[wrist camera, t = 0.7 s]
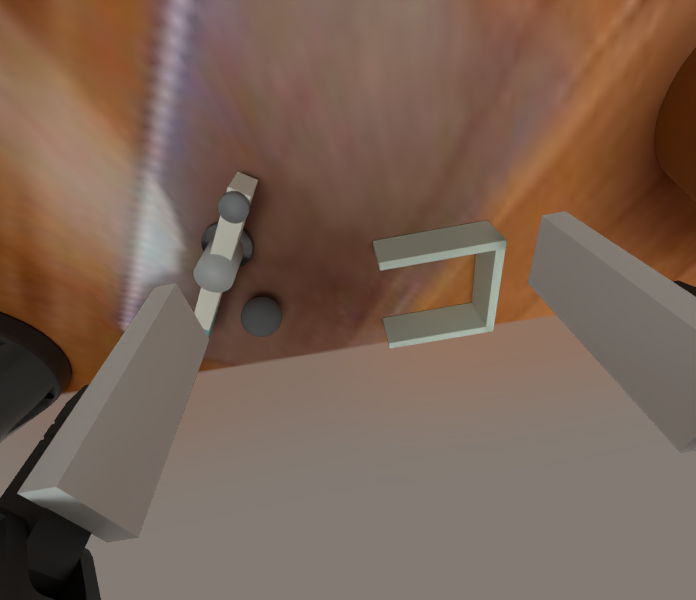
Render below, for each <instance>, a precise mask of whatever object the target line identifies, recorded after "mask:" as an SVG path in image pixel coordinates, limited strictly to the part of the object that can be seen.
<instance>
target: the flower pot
mask: <svg viewBox="0 0 696 600" xmlns="http://www.w3.org/2000/svg"><path fill="white" fill-rule="evenodd" d="M655 151H656V156H657V159H658V162H659V164H660V166H661V168H662V170H663V171H664V172H665V173H666V175H667V176H668V177H669V178H670V179H671V180H672V181H674V182H675V183H676V184H677V185H678V186H679V187H680V188H681V189H682V190H683V191H684V192H685V193H686V194H687V195H688V196H689V197H690V198H691V199H692V200H693V201H694V202H695V203H696V48H695V49H694V51H693V52H692V53H691V55H690V56H689V57H688V59H687V60H686V61H685V63H684V64H683V66H682V67H681V69H680V70H679V72H678V73H677V75H676V77H675V78H674V80H673V82H672V84H671V86H670V87H669V90H668V92H667V94H666V96H665V98H664V101H663V103H662V106H661V109H660V112H659V116H658V119H657V124H656V130H655Z"/></svg>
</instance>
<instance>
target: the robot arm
mask: <svg viewBox="0 0 696 600" xmlns="http://www.w3.org/2000/svg"><path fill="white" fill-rule="evenodd" d="M528 284H529V285H530V286H531V287H532V288H533V290H534V291H535V292H536V293H537V294H538V295H539V296H540V297H541V298H542V300H543V301H544V302H545V303H546V304H547V305H548V306H549V307H550V308H551V310H552V311H553V312H554V313H555V314H556V315H557V316H558V317H559V318H560V320H561V321H562V322H563V323H564V324H565V325H566V326H567V327H568V328H569V329H570V331H571V332H572V333H573V334H574V335H575V336H576V337H577V338H578V340H579V341H580V342H581V343H582V344H583V345H584V346H585V347H586V348H587V350H588V351H589V352H590V353H591V354H592V355H593V356H594V357H595V358H596V359H597V360H598V362H599V363H600V364H601V365H602V366H603V367H604V368H605V370H606V371H607V372H608V373H609V374H610V375H611V376H612V377H613V378H614V380H615V381H616V382H617V383H618V384H619V385H620V386H621V387H622V388H623V390H624V391H625V392H626V393H627V394H628V395H629V396H630V397H631V398H632V400H633V401H634V402H635V403H636V404H637V405H638V406H639V407H640V408H641V410H642V411H643V412H644V413H645V414H646V415H647V416H648V417H649V418H650V420H651V421H652V422H653V423H654V424H655V425H656V426H657V427H658V428H659V430H660V431H661V432H662V433H663V434H664V435H665V436H666V437H667V438H668V440H669V441H670V442H671V443H672V444H673V445H674V446H675V447H676V448H677V450H679V452H680V453H684V452H690V451H696V287H694V286H691V285H689V284H686V283H683V282H681V281H673V282H672V281H671V280H669V279H668V278H666V277H665V276H663V275H662V274H660V273H659V272H657V271H656V270H654V269H653V268H651V267H650V266H648V265H646V264H645V263H643V262H642V261H640V260H639V259H637V258H636V257H634V256H633V255H631V254H630V253H628V252H627V251H625V250H624V249H622V248H621V247H619V246H618V245H616V244H615V243H613V242H611V241H610V240H608V239H607V238H605V237H604V236H602V235H601V234H599V233H598V232H596V231H595V230H593V229H592V228H590V227H589V226H587V225H586V224H584V223H583V222H581V221H579V220H578V219H576V218H575V217H573V216H572V215H570V214H569V213H567V212H566V211H564V212H559V213H553V214H548V215H542V218H541V222H540V227H539V232H538V237H537V241H536V246H535V251H534V256H533V260H532V265H531V270H530V275H529V279H528ZM209 340H210V339H209V338H208V336H207V334H206V333H205V331H204V329H203V328H202V326H201V324H200V322H199V321H198V319H197V317H196V316H195V314H194V312H193V311H192V309H191V307H190V306H189V304H188V302H187V301H186V299H185V297H184V296H183V294H182V292H181V290H180V289H179V287H178V285H177V284H176V283H174V284H169V285H163V286H158V287H154V289H153V290H152V292H151V293H150V295H149V296H148V298H147V299H146V301H145V302H144V304H143V305H142V307H141V308H140V310H139V311H138V313H137V314H136V316H135V317H134V319H133V320H132V322H131V323H130V325H129V326H128V328H127V329H126V331H125V332H124V334H123V335H122V337H121V338H120V340H119V341H118V343H117V344H116V346H115V347H114V349H113V350H112V352H111V353H110V355H109V356H108V358H107V359H106V361H105V362H104V364H103V365H102V367H101V368H100V370H99V371H98V373H97V374H96V376H95V377H94V379H93V380H92V382H91V383H90V385H85V386H84V387H83V388H82V389H81V390H80V391H79V392H78V393H77V394H75V395H74V396H73V397H72V398H71V399H70V400H69V401H68V402H67V403H66V405H65V406H64V408H63V409H62V410H61V412H60V413H59V415H58V416H57V418H56V419H55V424H52V425H51V426H50V428H49V429H48V430H47V432H46V433H45V435H44V439H43V440H41V441H40V442H39V443H38V445H37V446H36V448H35V449H34V451H33V452H32V454H31V455H30V456H29V458H28V459H27V461H26V462H25V464H24V465H23V466H22V468H21V469H20V471H19V472H18V474H17V475H16V476H15V478H14V479H13V481H12V482H11V484H10V485H9V487H8V488H7V489H6V491H5V492H4V494H3V495H2V496H1V498H0V600H101V598H100V593H99V587H98V582H97V577H96V572H95V567H94V561H93V557H92V555H91V553H90V551H89V550H88V549H86V548H85V546H86V544H87V542H88V539H89V537H90V535H91V534H93V535H95V536H97V537H98V538H100V539H102V540H104V541H106V542H112V541H119V540H125V539H132V538H138V537H139V534H140V531H141V529H142V526H143V523H144V520H145V518H146V515H147V512H148V509H149V506H150V504H151V501H152V498H153V495H154V492H155V490H156V487H157V484H158V481H159V479H160V476H161V473H162V470H163V467H164V465H165V462H166V459H167V456H168V453H169V451H170V448H171V445H172V443H173V440H174V437H175V434H176V432H177V429H178V426H179V423H180V420H181V418H182V415H183V412H184V409H185V406H186V404H187V401H188V398H189V395H190V393H191V390H192V387H193V384H194V381H195V379H196V376H197V373H198V371H199V368H200V365H201V362H202V359H203V357H204V354H205V351H206V348H207V346H208V343H209ZM70 379H71V368H70V365H69V363H68V361H67V359H66V357H65V356H64V354H63V353H62V352H61V351H60V349H59V348H58V347H57V346H56V345H55V344H54V343H53V342H51V341H50V340H49V339H48V338H46V337H45V336H44V335H42V334H41V333H39V332H38V331H36V330H35V329H33V328H31V327H29V326H28V325H26V324H24V323H22V322H20V321H18V320H15V319H13V318H11V317H8V316H6V315H3V314H0V443H1V442H2V441H3V440H4V439H5V438H7V437H8V436H9V435H11V434H12V433H13V432H15V431H16V430H18V429H19V428H20V427H22V426H23V425H24V424H26V423H27V422H28V421H30V420H31V419H33V418H34V417H35V416H37V415H38V414H39V413H41V412H42V411H44V410H45V409H46V408H48V407H49V406H50V405H51V404H52V403H54V402H55V401H56V400H57V399H58V397H59V396H60V395H61V393H62V392H63V390H64V389H65V388H66V386H67V385H68V384H69V382H70Z"/></svg>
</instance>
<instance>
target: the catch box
mask: <svg viewBox="0 0 696 600" xmlns="http://www.w3.org/2000/svg"><path fill="white" fill-rule="evenodd" d="M506 241H507V240H506V239H505V238H504V237H503V236H502V235H501V234H500V233H499V232H498V231H497V230H496V229H495V228H494V227H493V226H492V225H491V224H490V223H489V222H488V220H486V221H480V222H475V223H469V224H464V225H458V226H453V227H447V228H442V229H436V230H431V231H425V232H420V233H414V234H409V235H403V236H398V237H392V238H387V239H381V240H376V241H373V246H374V251H375V254H376V258H377V261H378V265H379V269H380V271H381V270H387V269H392V268H398V267H404V266H409V265H415V264H421V263H426V262H432V261H437V260H443V259H449V258H454V257H460V256H466V255H471V254H476V258H475V269H474V281H473V292H472V303H467V304H461V305H455V306H449V307H444V308H438V309H432V310H426V311H420V312H415V313H409V314H403V315H397V316H391V317H385V318H383V323H384V327H385V331H386V335H387V340H388V344H389V348H396V347H401V346H407V345H413V344H419V343H425V342H431V341H437V340H443V339H449V338H455V337H461V336H467V335H472V334H478V333H485V332H490V331H493V328H494V322H495V315H496V308H497V302H498V295H499V288H500V282H501V275H502V268H503V261H504V255H505V248H506Z"/></svg>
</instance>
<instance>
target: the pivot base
mask: <svg viewBox="0 0 696 600" xmlns="http://www.w3.org/2000/svg"><path fill="white" fill-rule="evenodd" d="M217 226H218V222H215V223H213V224H211V225H210V226H209V227H208V228H207V229H206V231H205V233H204V234H203V236H202V241H201V244H202V249H203V251H205V249H206V247H207V245H208V243H209V242H210V240H211V238H212V237H213V236H215V234H216V230H217ZM239 241H240V242H241V243H242V245H243V248H244V254H243V257H242V260H241V263H240V265H239V267H240V266H242V265H244V264H246V263H247V262H248V261H249V259H250V258H251V255H252V252H253V248H254V245H253V240H252V238H251V236H250V234H249V233H248V231H247V230H246V229H244V228H243V230H242V233H241V236H240V239H239Z"/></svg>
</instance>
